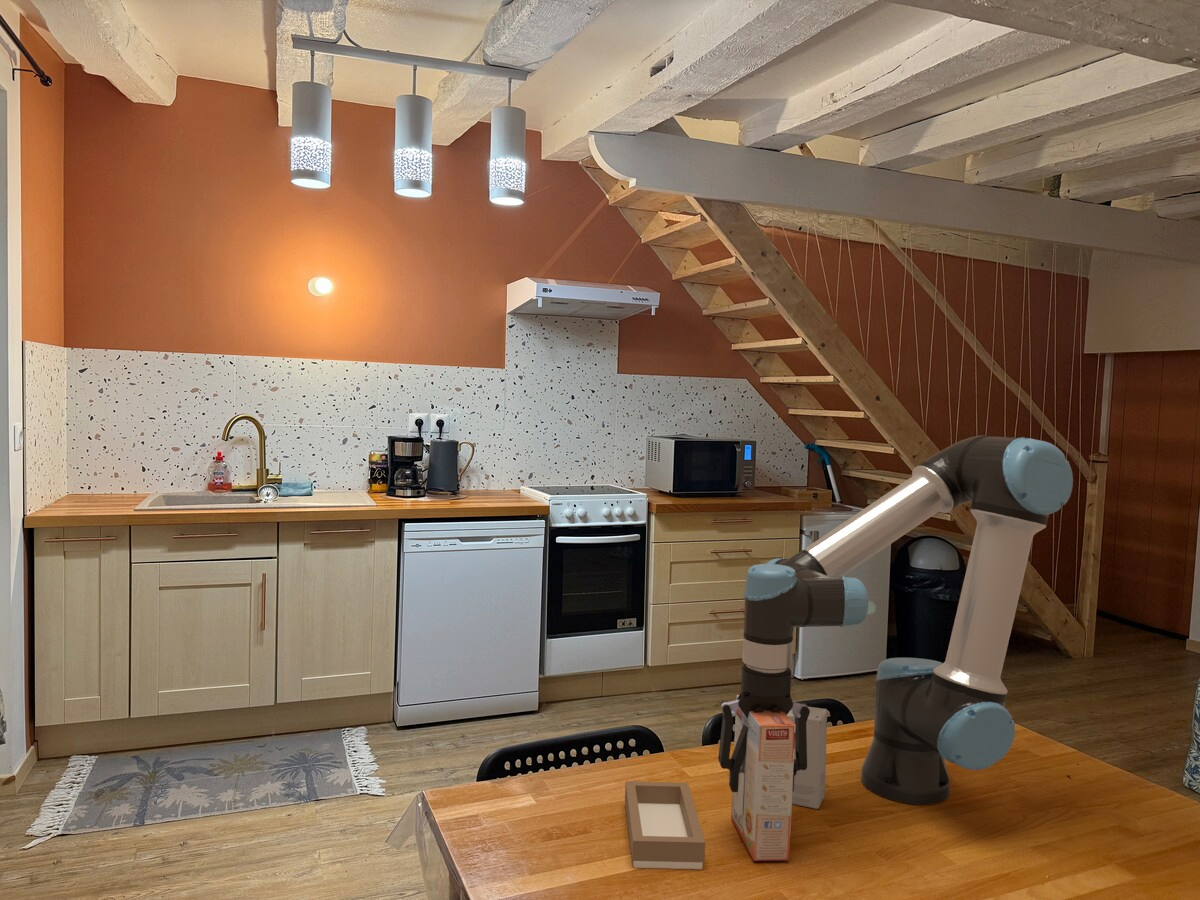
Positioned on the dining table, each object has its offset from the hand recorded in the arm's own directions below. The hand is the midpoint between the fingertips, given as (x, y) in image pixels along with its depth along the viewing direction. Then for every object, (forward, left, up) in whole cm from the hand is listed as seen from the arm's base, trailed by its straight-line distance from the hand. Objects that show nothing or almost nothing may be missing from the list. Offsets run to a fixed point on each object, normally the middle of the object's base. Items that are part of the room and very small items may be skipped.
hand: (760, 811), depth 137 cm
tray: (+15, -1, -5) cm, 16 cm away
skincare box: (-10, -15, -5) cm, 19 cm away
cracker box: (0, 0, -5) cm, 5 cm away
